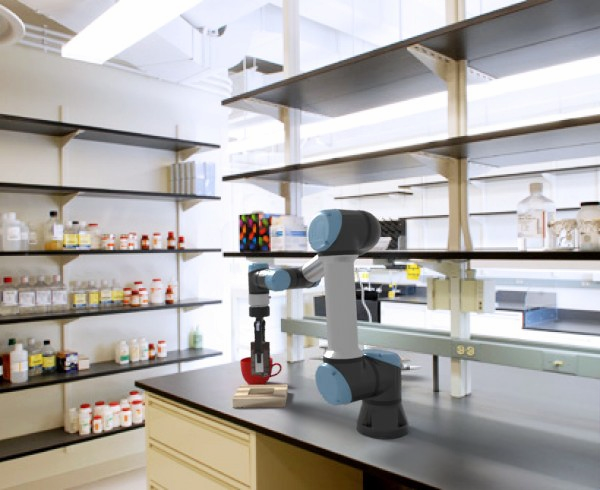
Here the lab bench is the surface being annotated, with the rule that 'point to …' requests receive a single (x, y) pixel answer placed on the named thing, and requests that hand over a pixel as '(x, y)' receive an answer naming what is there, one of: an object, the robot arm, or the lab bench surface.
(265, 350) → the box
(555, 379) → the lab bench surface
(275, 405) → the shallow beige tray
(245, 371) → the ceramic cup
